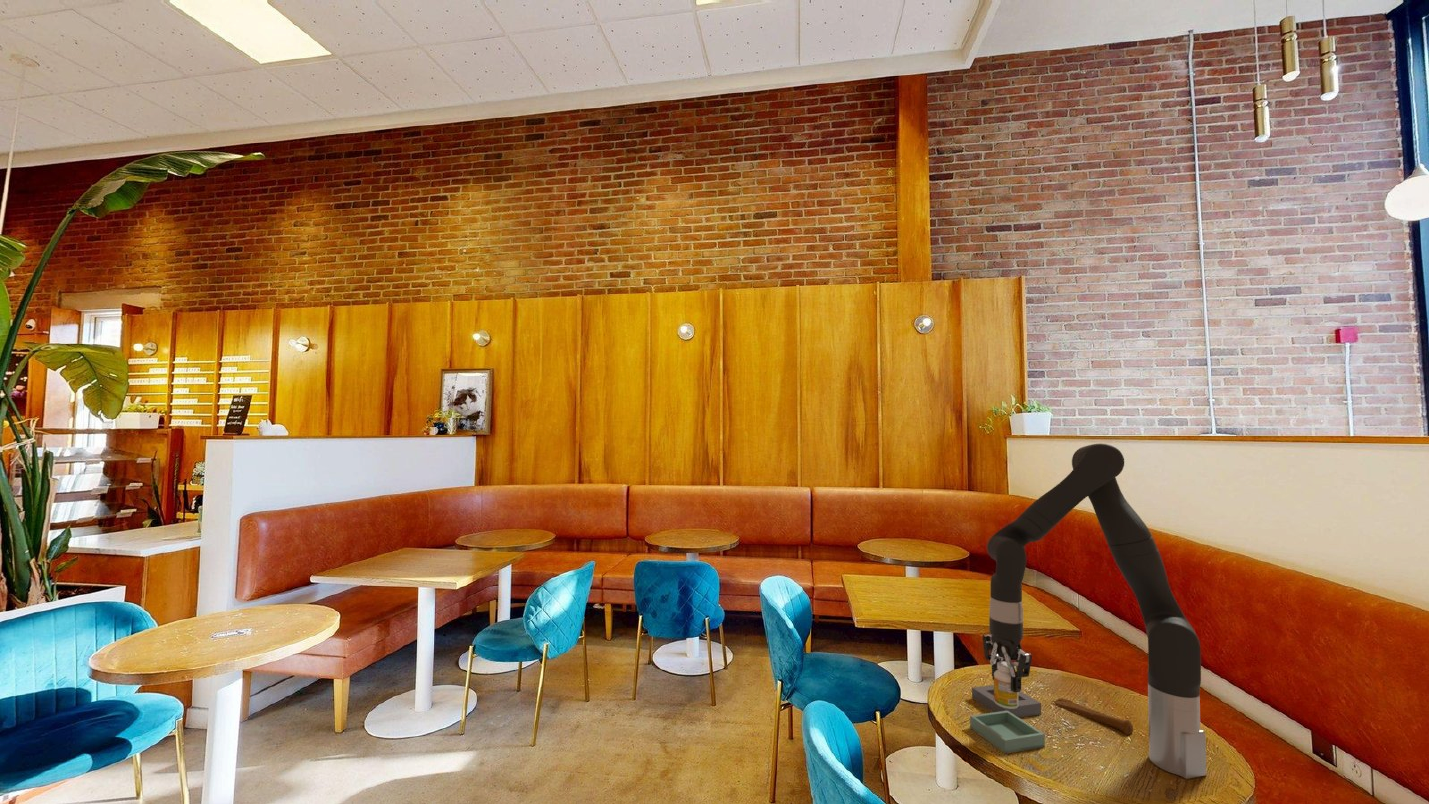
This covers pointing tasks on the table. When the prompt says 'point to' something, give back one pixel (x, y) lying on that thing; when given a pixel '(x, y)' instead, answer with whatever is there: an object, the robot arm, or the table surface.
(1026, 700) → the socket block
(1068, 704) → the primitive tool
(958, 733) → the table surface
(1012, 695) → the supplement bottle
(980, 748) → the table surface
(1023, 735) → the tray
